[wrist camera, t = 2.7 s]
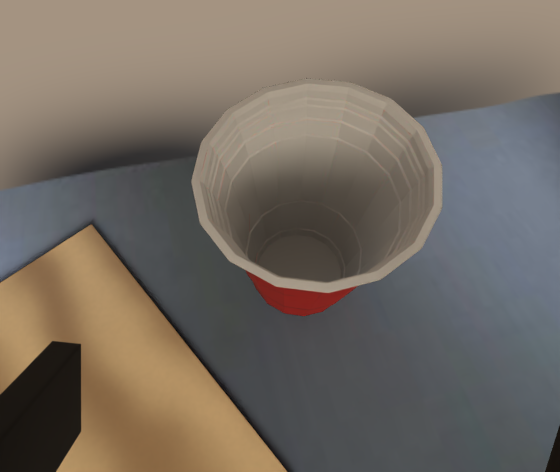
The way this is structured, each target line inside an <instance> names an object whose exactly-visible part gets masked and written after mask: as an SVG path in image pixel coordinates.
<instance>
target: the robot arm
mask: <svg viewBox="0 0 560 472" xmlns="http://www.w3.org/2000/svg"><path fill="white" fill-rule="evenodd" d="M80 433H81V344H77V343H68V342H59V341H52V342H51V343H50V344H49V345H48V346H47V347H46V348H45V349H44V350H43V351H42V352H41V353H40V354H39V355H38V356H37V357H36V358H35V359H34V360H33V361H32V362H31V363H30V365H29V366H28V367H27V368H26V369H25V370H24V371H23V372H22V373H21V374H20V375H19V376H18V377H17V378H16V379H15V380H14V381H13V382H12V383H11V384H10V385H9V386H8V387H7V388H6V389H5V390H4V391H3V392H2V393H1V394H0V472H56V471H57V469H58V468H59V466H60V465H61V463H62V461H63V460H64V458H65V457H66V455H67V453H68V452H69V450H70V449H71V447H72V445H73V444H74V442H75V441H76V439H77V437H78V436H79V434H80ZM545 472H560V426H559V429H558V432H557V436H556V439H555V442H554V445H553V448H552V451H551V455H550V458H549V461H548V464H547V467H546V470H545Z"/></svg>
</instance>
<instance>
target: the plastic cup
mask: <svg viewBox="0 0 560 472" xmlns="http://www.w3.org/2000/svg"><path fill="white" fill-rule="evenodd" d="M191 183H192V187H193V192H194V197H195V201H196V206H197V211H198V216H199V220H200V224H201V225H202V226H203V228H204V229H205V230H206V232H207V233H208V234H209V235H210V237H211V238H212V239H213V241H214V242H215V243H216V245H217V246H218V247H219V248H220V250H221V251H222V252H223V254H224V255H225V256H226V257H227V259H228V260H229V261H230V262H232V263H234V264H236V265H238V266H239V267H241V268H243V269H245V270H246V272H247V274H248V276H249V277H250V278H251V280H252V281H253V283H254V285H255V287H256V289H257V290H258V292H259V293H260V294H261V296H262V297H263V298H264V299H265V301H266V302H267V303H268V304H270V305H271V306H273V307H275V308H276V309H278V310H280V311H282V312H283V313H286V314H293V315H300V316H306V315H310V314H314V313H318V312H323V311H324V310H325V309H327V308H328V307H329V306H331V305H333V304H335V303H336V302H337V301H339V300H340V299H341V298H343V297H344V296H345V295H347V294H348V293H350V292H351V291H352V290H353V289H355V288H356V287H357V286H358V285H362V284H366V283H370V282H374V281H378V280H380V279H382V278H384V277H385V276H386V275H387V274H389V273H390V272H391V271H393V270H394V269H395V268H397V267H398V266H399V265H401V264H402V263H403V262H404V261H406V260H407V259H408V258H410V257H411V256H412V255H414V254H415V253H416V252H418V251H419V250H420V249H421V248H422V247H423V245H424V243H425V241H426V239H427V237H428V235H429V233H430V231H431V229H432V227H433V225H434V223H435V221H436V219H437V217H438V215H439V213H440V211H441V209H442V164H441V162H440V160H439V158H438V156H437V154H436V152H435V150H434V148H433V146H432V144H431V142H430V140H429V138H428V136H427V133H426V131H425V129H424V127H422V126H421V125H420V124H419V123H418V122H417V121H416V120H415V119H413V118H412V117H411V116H410V115H409V114H408V113H407V112H406V111H404V110H403V109H402V108H401V107H400V106H399V105H398V104H397V103H395V102H394V101H393V100H392V99H390V98H388V97H386V96H383V95H380V94H378V93H376V92H373V91H371V90H369V89H366V88H364V87H361V86H359V85H356V84H354V83H352V82H342V81H332V80H320V79H307V78H306V79H301V80H297V81H292V82H287V83H283V84H279V85H274V86H269V87H265V88H262V89H261V90H259V91H257V92H256V93H254V94H252V95H251V96H249V97H247V98H245V99H244V100H242V101H240V102H239V103H237V104H235V105H234V106H232V107H230V108H229V109H227V110H226V111H225V113H224V114H223V115H222V116H221V118H220V119H219V120H218V122H217V123H216V124H215V125H214V127H213V128H212V129H211V130H210V132H209V133H208V134H207V135H206V137H205V138H204V139H203V140H202V142H201V145H200V149H199V153H198V157H197V161H196V165H195V169H194V173H193V177H192V180H191Z"/></svg>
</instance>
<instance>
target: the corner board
mask: <svg viewBox="0 0 560 472" xmlns="http://www.w3.org/2000/svg"><path fill="white" fill-rule="evenodd" d="M52 341H59V342H68V343H77V344H81V433H80V434H79V436H78V437H77V439H76V441H75V442H74V444H73V445H72V447H71V449H70V450H69V452H68V453H67V455H66V457H65V458H64V460H63V461H62V463H61V465H60V466H59V468H58V469H57V471H56V472H287V470H286V469H285V468H284V467H283V465H282V464H281V463H280V462H279V460H278V459H277V458H276V457H275V455H274V454H273V453H272V451H271V450H270V449H269V448H268V446H267V445H266V444H265V443H264V441H263V440H262V439H261V438H260V436H259V435H258V434H257V433H256V431H255V430H254V429H253V427H252V426H251V425H250V424H249V422H248V421H247V420H246V419H245V417H244V416H243V415H242V414H241V412H240V411H239V410H238V409H237V407H236V406H235V405H234V403H233V402H232V401H231V400H230V398H229V397H228V396H227V395H226V393H225V392H224V391H223V390H222V388H221V387H220V386H219V385H218V383H217V382H216V381H215V379H214V378H213V377H212V376H211V374H210V373H209V372H208V371H207V369H206V368H205V367H204V366H203V364H202V363H201V362H200V361H199V359H198V358H197V357H196V355H195V354H194V353H193V352H192V350H191V349H190V348H189V347H188V345H187V344H186V343H185V342H184V340H183V339H182V338H181V337H180V335H179V334H178V333H177V331H176V330H175V329H174V328H173V326H172V325H171V324H170V323H169V321H168V320H167V319H166V318H165V316H164V315H163V314H162V313H161V311H160V310H159V309H158V307H157V306H156V305H155V304H154V302H153V301H152V300H151V299H150V297H149V296H148V295H147V294H146V292H145V291H144V290H143V289H142V287H141V286H140V285H139V283H138V282H137V281H136V280H135V278H134V277H133V276H132V275H131V273H130V272H129V271H128V270H127V268H126V267H125V266H124V265H123V263H122V262H121V261H120V259H119V258H118V257H117V256H116V254H115V253H114V252H113V251H112V249H111V248H110V247H109V246H108V244H107V243H106V242H105V241H104V239H103V238H102V237H101V235H100V234H99V233H98V232H97V230H96V229H95V228H94V227H93V225H92V224H91V225H89V226H88V227H86V228H85V229H83V230H81V231H80V232H78V233H77V234H75V235H74V236H72V237H71V238H69V239H67V240H66V241H64V242H63V243H61V244H60V245H58V246H57V247H55V248H53V249H52V250H50V251H49V252H47V253H46V254H44V255H43V256H41V257H39V258H38V259H36V260H35V261H33V262H32V263H30V264H29V265H27V266H25V267H24V268H22V269H21V270H19V271H18V272H16V273H15V274H13V275H11V276H10V277H8V278H7V279H5V280H4V281H2V282H1V283H0V394H1V393H2V392H3V391H4V390H5V389H6V388H7V387H8V386H9V385H10V384H11V383H12V382H13V381H14V380H15V379H16V378H17V377H18V376H19V375H20V374H21V373H22V372H23V371H24V370H25V369H26V368H27V367H28V366H29V365H30V363H31V362H32V361H33V360H34V359H35V358H36V357H37V356H38V355H39V354H40V353H41V352H42V351H43V350H44V349H45V348H46V347H47V346H48V345H49V344H50V343H51V342H52Z"/></svg>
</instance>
